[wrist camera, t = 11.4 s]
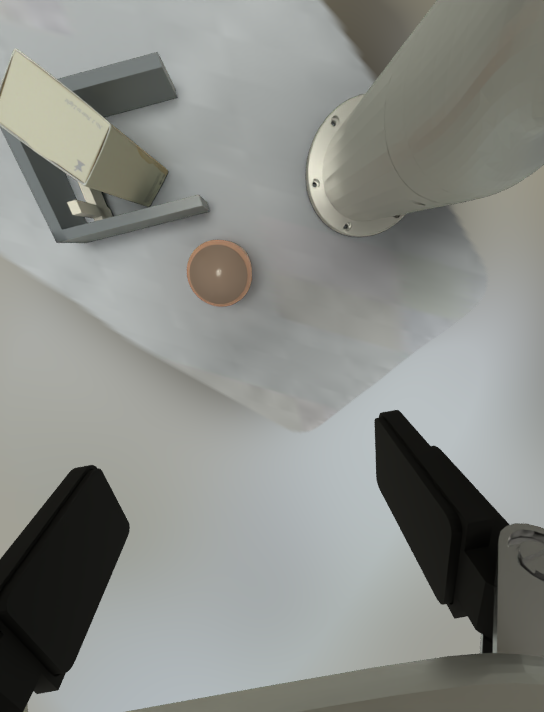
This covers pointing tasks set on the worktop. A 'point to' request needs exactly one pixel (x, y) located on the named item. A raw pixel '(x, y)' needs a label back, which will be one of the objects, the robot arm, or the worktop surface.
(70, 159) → the skincare box
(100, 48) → the worktop surface
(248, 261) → the jar
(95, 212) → the bar
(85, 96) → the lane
